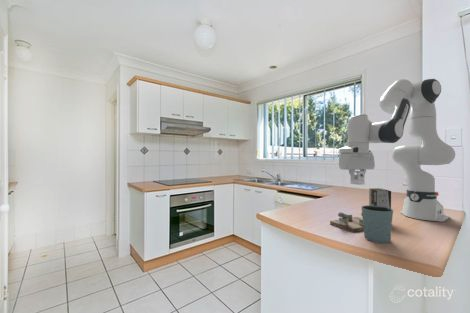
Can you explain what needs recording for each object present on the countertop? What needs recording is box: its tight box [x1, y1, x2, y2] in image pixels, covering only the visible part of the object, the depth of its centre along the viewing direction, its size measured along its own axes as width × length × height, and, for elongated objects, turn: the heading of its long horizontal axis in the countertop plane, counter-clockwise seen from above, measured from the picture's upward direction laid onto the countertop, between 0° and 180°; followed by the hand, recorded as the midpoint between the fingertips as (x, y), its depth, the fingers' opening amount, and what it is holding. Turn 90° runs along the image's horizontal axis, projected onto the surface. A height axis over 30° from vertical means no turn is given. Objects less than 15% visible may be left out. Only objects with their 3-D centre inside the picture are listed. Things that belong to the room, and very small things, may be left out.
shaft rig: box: [329, 211, 364, 233], centre depth 100 cm, size 21×12×7 cm, turn 115°
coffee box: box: [368, 187, 392, 209], centre depth 106 cm, size 9×6×16 cm
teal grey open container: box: [361, 204, 394, 244], centre depth 84 cm, size 10×10×12 cm
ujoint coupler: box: [350, 170, 366, 186], centre depth 100 cm, size 4×5×6 cm
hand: (357, 179), depth 100 cm, fingers closed on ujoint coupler, 4 cm apart
